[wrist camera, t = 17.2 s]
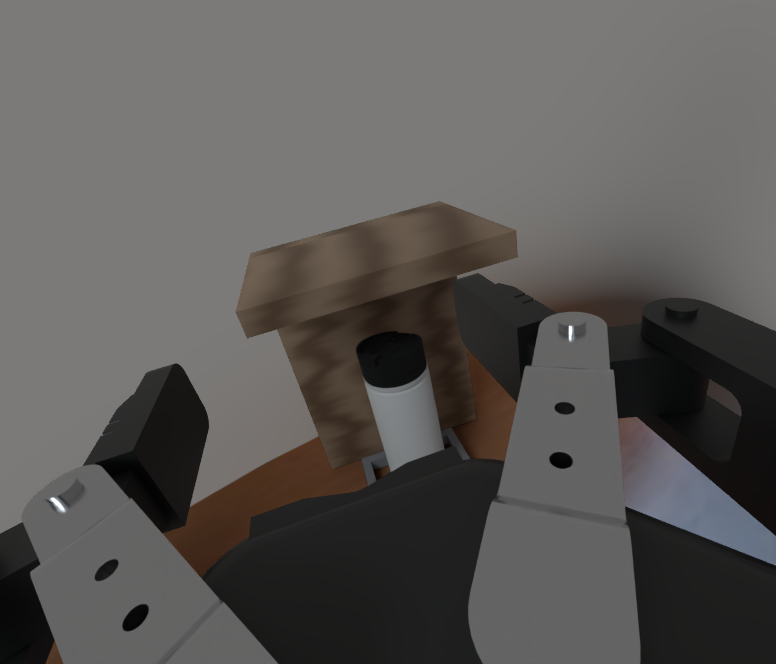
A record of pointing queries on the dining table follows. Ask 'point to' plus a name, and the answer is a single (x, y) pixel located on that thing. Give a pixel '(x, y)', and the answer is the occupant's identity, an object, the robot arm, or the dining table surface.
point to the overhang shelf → (371, 311)
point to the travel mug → (400, 395)
